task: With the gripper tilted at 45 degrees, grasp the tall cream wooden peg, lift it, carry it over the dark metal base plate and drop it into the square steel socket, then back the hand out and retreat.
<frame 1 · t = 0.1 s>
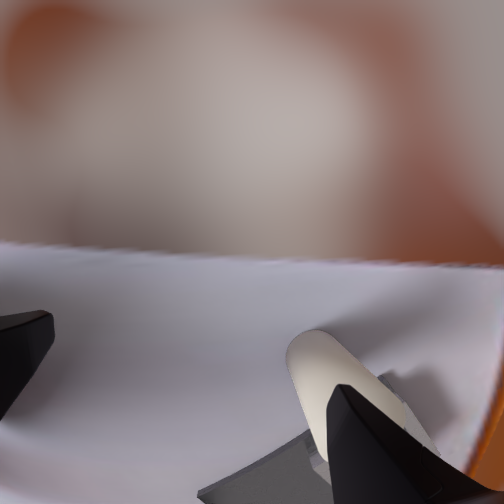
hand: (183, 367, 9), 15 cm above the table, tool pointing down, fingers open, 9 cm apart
peg: (313, 356, 24), on the table
socket: (368, 441, 24), on the table
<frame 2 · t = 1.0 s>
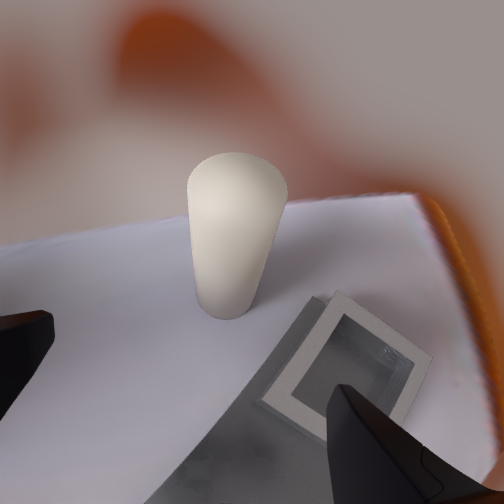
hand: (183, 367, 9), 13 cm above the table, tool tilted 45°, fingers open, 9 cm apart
peg: (225, 292, 24), on the table
socket: (336, 386, 21), on the table
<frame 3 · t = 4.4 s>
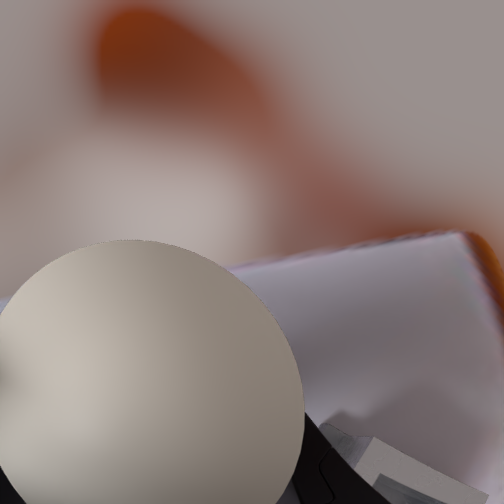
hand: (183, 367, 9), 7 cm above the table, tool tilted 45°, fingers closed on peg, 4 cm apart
peg: (188, 416, 13), on the table, touching gripper
when the fingers open (8 cm above the table, at t = 8.5 s): peg stays where it is, resting on socket.
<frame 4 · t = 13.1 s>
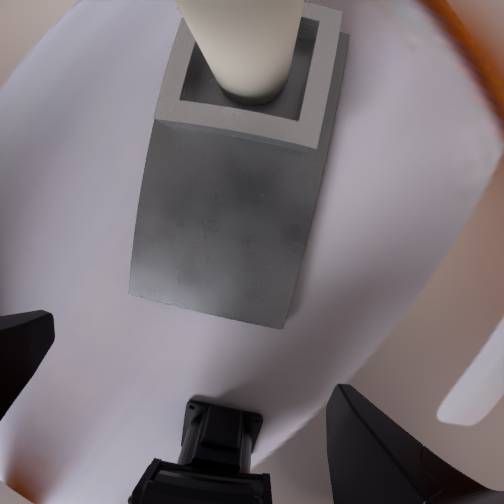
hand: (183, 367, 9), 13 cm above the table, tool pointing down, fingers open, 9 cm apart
peg: (252, 72, 17), point 1 cm above the table, touching socket
socket: (253, 76, 18), on the table
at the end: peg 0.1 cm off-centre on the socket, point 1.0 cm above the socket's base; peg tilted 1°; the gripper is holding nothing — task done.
